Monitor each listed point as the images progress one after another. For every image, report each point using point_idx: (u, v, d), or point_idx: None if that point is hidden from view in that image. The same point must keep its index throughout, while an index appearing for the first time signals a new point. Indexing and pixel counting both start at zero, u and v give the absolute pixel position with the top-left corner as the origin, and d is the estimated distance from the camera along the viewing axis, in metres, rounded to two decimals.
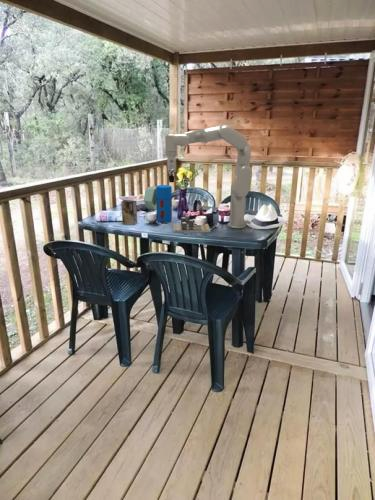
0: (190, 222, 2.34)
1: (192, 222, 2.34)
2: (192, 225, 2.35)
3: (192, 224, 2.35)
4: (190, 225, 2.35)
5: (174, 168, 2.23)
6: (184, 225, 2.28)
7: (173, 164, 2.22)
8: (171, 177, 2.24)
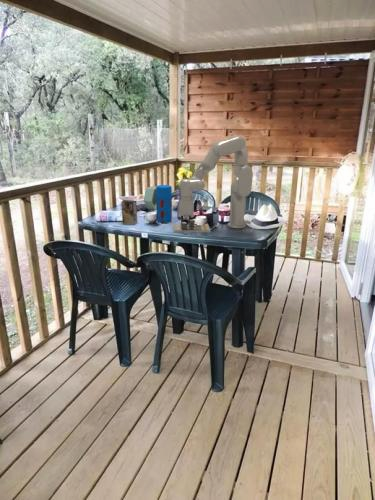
0: (190, 222, 2.34)
1: (192, 222, 2.34)
2: (192, 225, 2.35)
3: (192, 224, 2.35)
4: (190, 225, 2.35)
5: None
6: (184, 225, 2.28)
7: None
8: None
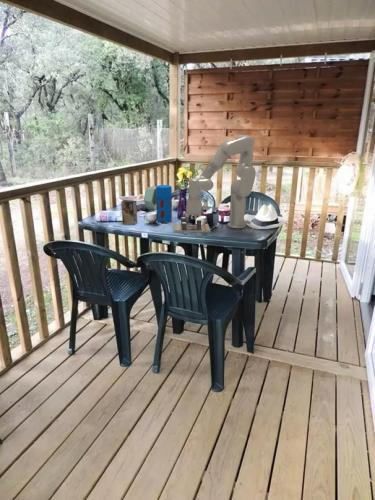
0: (198, 222, 2.34)
1: (200, 222, 2.34)
2: (200, 225, 2.35)
3: (200, 224, 2.35)
4: (198, 225, 2.35)
5: None
6: (184, 225, 2.28)
7: None
8: (195, 220, 2.35)
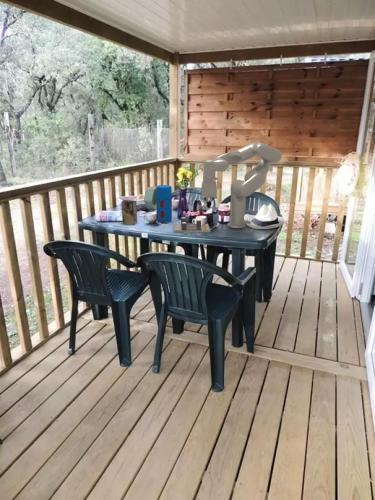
0: (198, 222, 2.34)
1: (200, 222, 2.34)
2: (200, 225, 2.35)
3: (200, 224, 2.35)
4: (198, 225, 2.35)
5: None
6: (184, 225, 2.28)
7: None
8: None
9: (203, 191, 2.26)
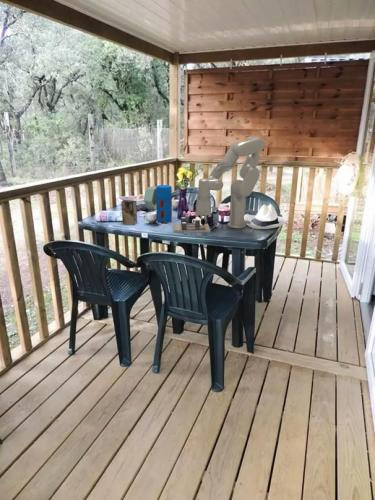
0: (196, 222, 2.34)
1: (198, 222, 2.34)
2: (198, 225, 2.35)
3: (198, 224, 2.35)
4: (196, 225, 2.35)
5: None
6: (184, 225, 2.28)
7: None
8: None
9: (197, 209, 2.30)
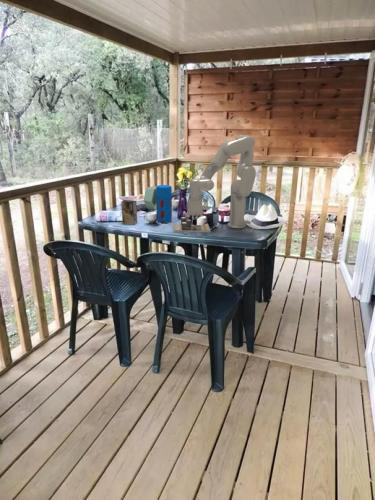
0: (188, 222, 2.34)
1: (190, 222, 2.34)
2: (190, 225, 2.35)
3: (190, 224, 2.34)
4: (188, 225, 2.35)
5: None
6: (184, 225, 2.28)
7: None
8: (196, 220, 2.35)
9: (189, 209, 2.30)
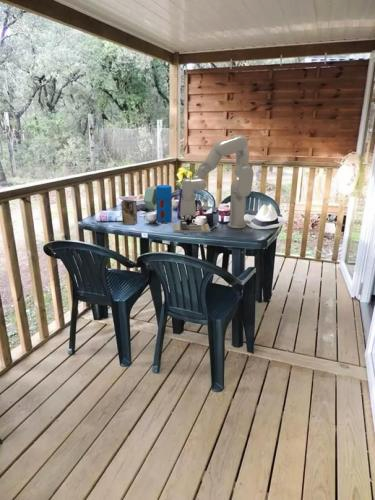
0: (181, 222, 2.34)
1: None
2: None
3: None
4: (181, 225, 2.34)
5: None
6: (184, 225, 2.28)
7: None
8: None
9: (182, 209, 2.30)
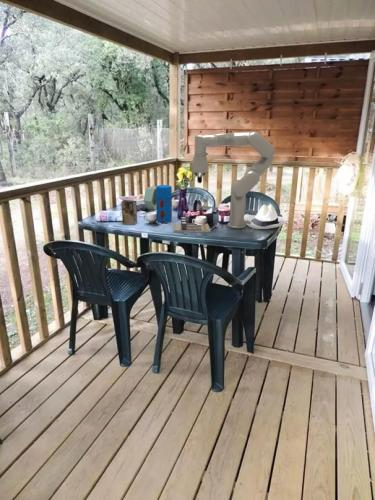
0: None
1: None
2: None
3: None
4: None
5: None
6: (184, 225, 2.28)
7: None
8: (201, 178, 2.35)
9: (194, 166, 2.30)
